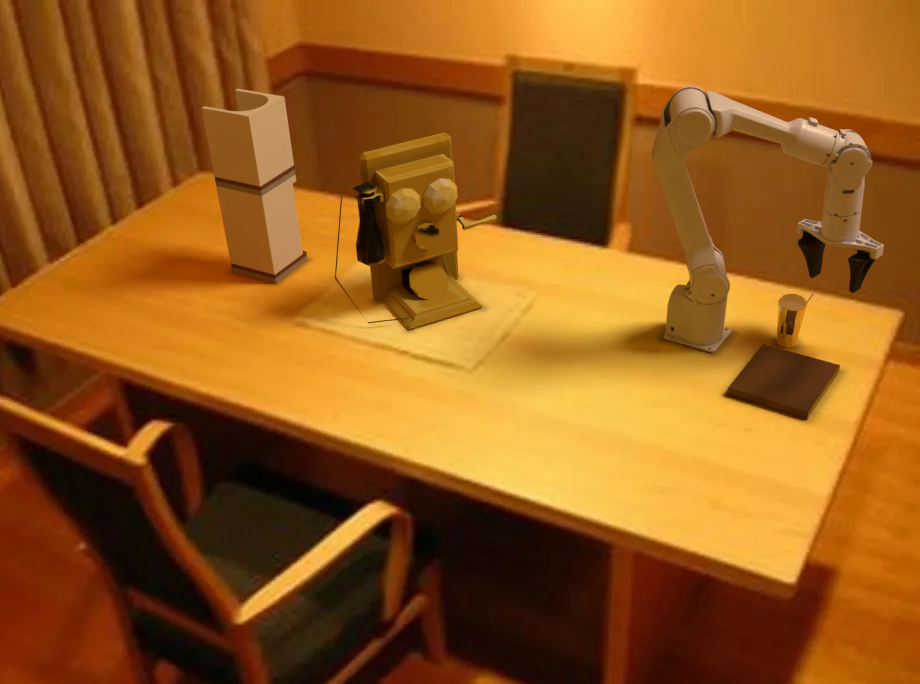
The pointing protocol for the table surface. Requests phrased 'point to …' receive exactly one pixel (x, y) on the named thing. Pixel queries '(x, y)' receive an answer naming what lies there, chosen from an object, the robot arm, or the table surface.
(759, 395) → the board
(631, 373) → the table surface
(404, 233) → the vintage telephone
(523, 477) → the table surface
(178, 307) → the table surface
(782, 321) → the milkshake
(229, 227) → the scooped banded pillar
